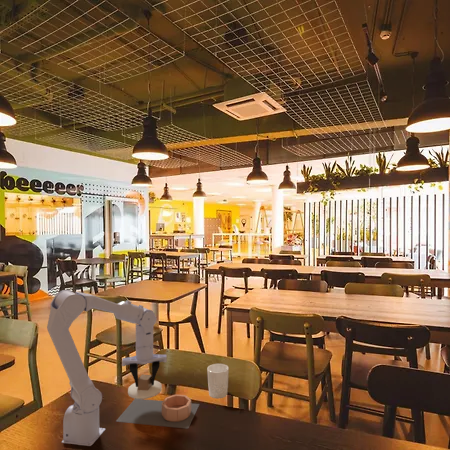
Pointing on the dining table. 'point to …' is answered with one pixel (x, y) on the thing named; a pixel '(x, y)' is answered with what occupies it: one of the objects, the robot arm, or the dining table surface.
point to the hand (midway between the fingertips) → (144, 384)
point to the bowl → (176, 408)
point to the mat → (152, 414)
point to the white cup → (217, 380)
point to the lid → (144, 388)
